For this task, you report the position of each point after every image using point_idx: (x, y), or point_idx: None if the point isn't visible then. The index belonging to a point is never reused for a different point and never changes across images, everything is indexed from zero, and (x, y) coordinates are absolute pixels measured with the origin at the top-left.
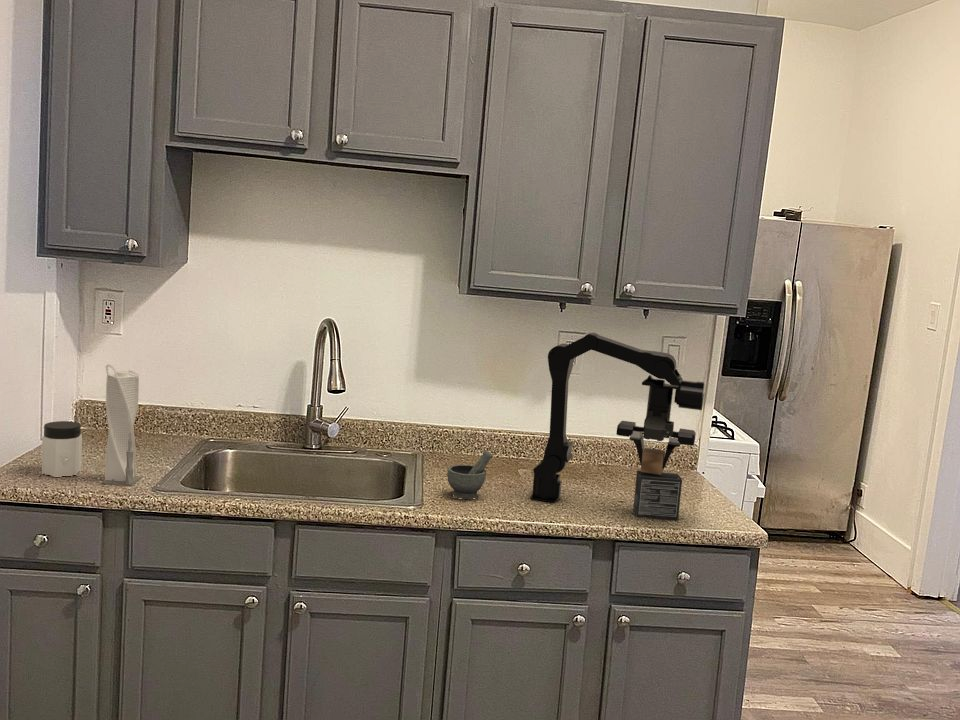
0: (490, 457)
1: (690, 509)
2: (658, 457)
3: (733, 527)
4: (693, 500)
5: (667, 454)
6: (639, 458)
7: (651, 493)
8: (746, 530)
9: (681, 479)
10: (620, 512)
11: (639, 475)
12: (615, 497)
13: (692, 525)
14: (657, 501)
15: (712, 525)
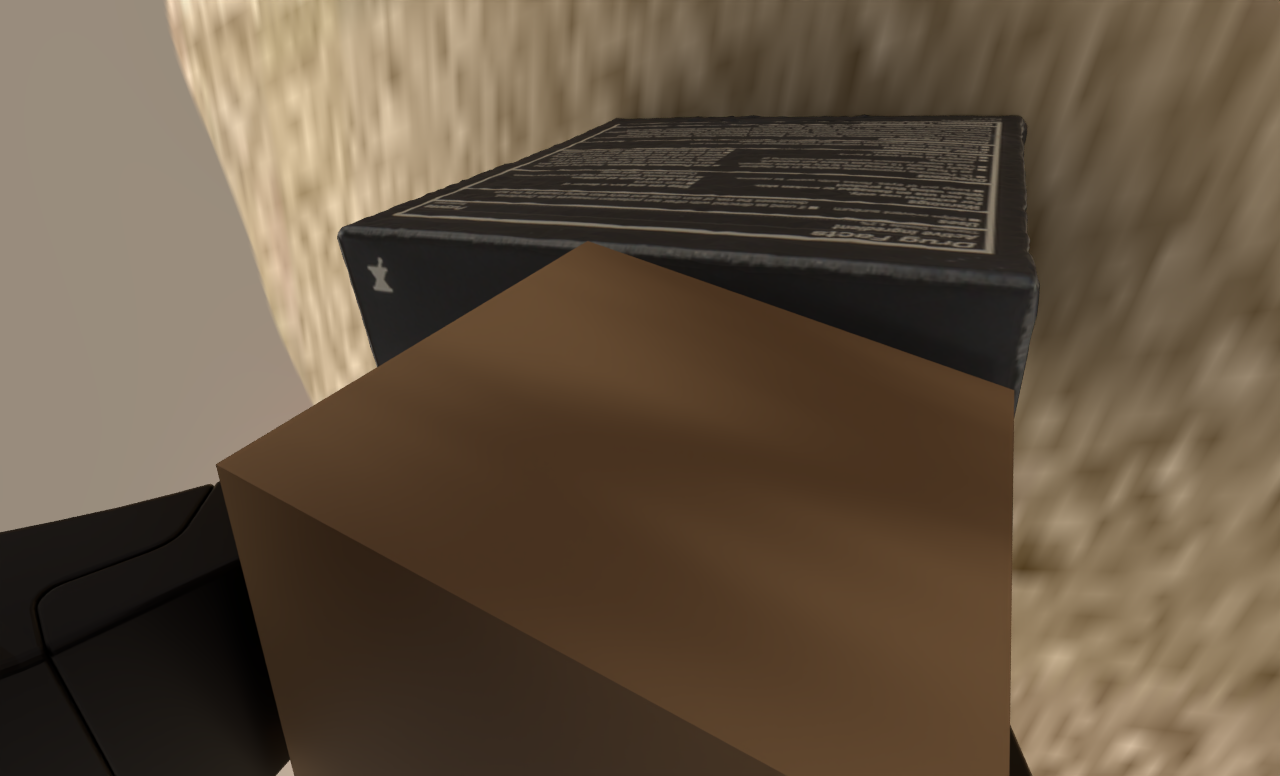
0: None
1: None
2: (433, 461)
3: (273, 74)
4: None
5: (171, 537)
6: (1016, 756)
7: (823, 179)
8: (205, 30)
9: (342, 230)
10: (1184, 246)
11: (1021, 372)
12: (1046, 652)
13: (510, 13)
14: (759, 153)
15: (384, 74)
